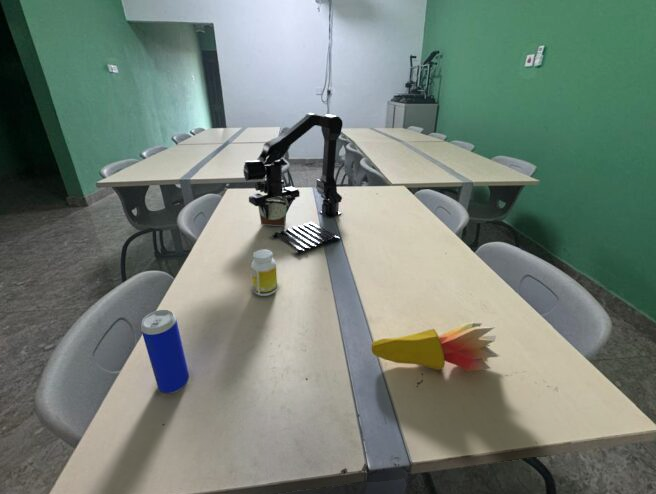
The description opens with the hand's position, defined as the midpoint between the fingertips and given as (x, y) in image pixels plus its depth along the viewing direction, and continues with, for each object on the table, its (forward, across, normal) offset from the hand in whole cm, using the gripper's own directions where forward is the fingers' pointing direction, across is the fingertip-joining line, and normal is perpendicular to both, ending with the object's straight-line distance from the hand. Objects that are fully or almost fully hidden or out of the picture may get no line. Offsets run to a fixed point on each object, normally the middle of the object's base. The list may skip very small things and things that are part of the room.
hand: (276, 217), depth 121 cm
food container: (+3, 0, 0) cm, 3 cm away
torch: (+4, +9, +76) cm, 77 cm away
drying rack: (+3, -2, +17) cm, 17 cm away
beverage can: (+4, +51, +50) cm, 71 cm away
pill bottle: (+3, +24, +35) cm, 42 cm away
